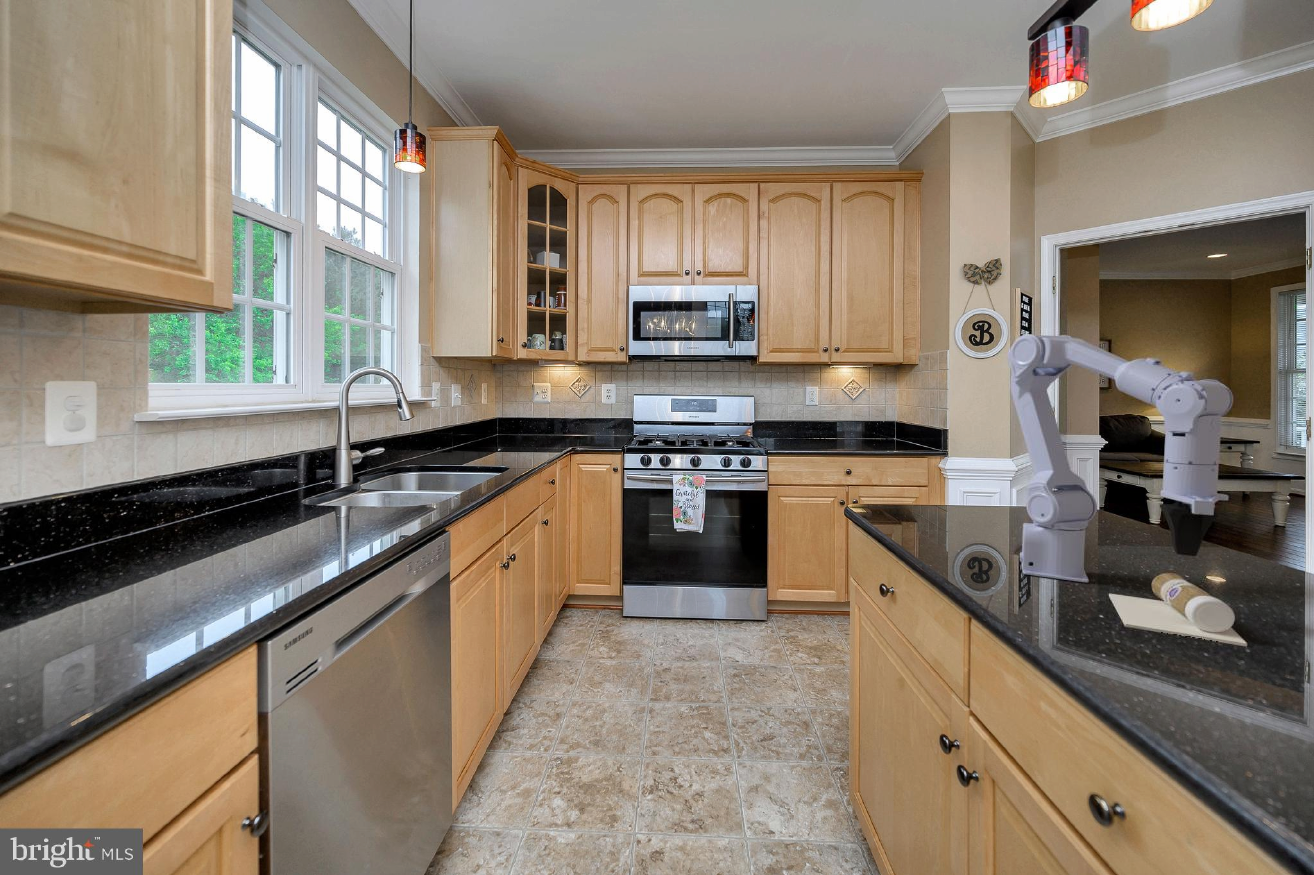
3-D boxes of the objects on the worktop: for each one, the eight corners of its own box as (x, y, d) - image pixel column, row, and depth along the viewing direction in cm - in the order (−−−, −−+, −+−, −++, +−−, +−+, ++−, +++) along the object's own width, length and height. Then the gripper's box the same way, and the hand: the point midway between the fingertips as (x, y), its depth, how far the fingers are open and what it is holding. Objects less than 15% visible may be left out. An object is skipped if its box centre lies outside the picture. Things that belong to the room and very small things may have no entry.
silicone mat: (1125, 626, 76) (1125, 623, 76) (1109, 595, 88) (1109, 593, 88) (1246, 646, 70) (1247, 643, 70) (1211, 610, 82) (1211, 607, 82)
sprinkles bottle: (1155, 568, 86) (1197, 594, 74) (1192, 578, 84) (1241, 607, 72) (1146, 595, 86) (1186, 625, 74) (1182, 605, 85) (1229, 638, 72)
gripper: (1248, 470, 71) (1241, 571, 72) (1212, 459, 83) (1207, 546, 84) (1175, 467, 75) (1170, 563, 76) (1151, 457, 87) (1147, 540, 88)
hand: (1185, 554), depth 80 cm, fingers closed
